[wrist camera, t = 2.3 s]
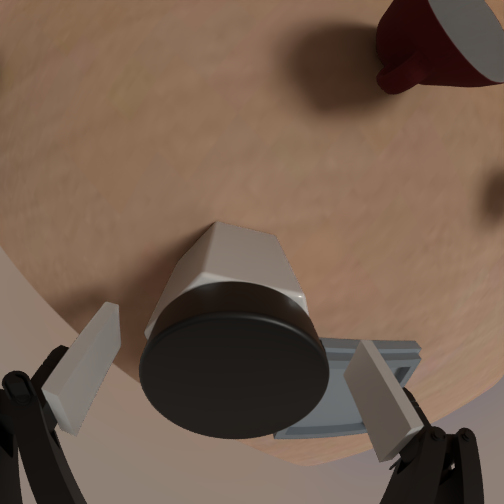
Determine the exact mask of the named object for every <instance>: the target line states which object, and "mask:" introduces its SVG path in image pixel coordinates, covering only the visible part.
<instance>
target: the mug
mask: <svg viewBox="0 0 504 504" xmlns="http://www.w3.org/2000/svg"><path fill="white" fill-rule="evenodd" d="M376 50H377V54H378V57H379V59H380V60H381V62H382V63H383V65H384V66H385V67H384V68H383V69H382V70H381V71H380V72H379V73H378V75H377V77H376V81H377V83H378V85H379V86H380V88H381V89H382V90H384V91H385V92H386V93H388V94H393V95H394V94H399V93H402V92H404V91H406V90H408V89H410V88H412V87H413V86H415V85H417V84H422V85H437V86H455V87H483V86H490V85H497V84H502V83H504V31H503V29H502V27H501V25H500V23H499V21H498V19H497V18H496V16H495V15H494V13H493V12H492V10H491V9H490V7H489V6H488V5H487V3H486V2H485V1H484V0H393V2H392V3H391V5H390V6H389V8H388V9H387V11H386V12H385V14H384V15H383V17H382V18H381V20H380V22H379V24H378V27H377V32H376Z"/></svg>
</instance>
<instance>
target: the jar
mask: <svg viewBox="0 0 504 504" xmlns="http://www.w3.org/2000/svg"><path fill="white" fill-rule="evenodd" d="M144 334H145V337H146V338H147V340H148V341H147V343H146V346H145V348H144V351H143V353H142V356H141V359H140V365H139V377H140V383H141V386H142V389H143V391H144V393H145V395H146V397H147V398H148V400H149V401H150V403H151V404H152V405H153V406H154V408H155V409H156V410H157V411H159V413H161V414H162V415H163V416H164V417H165V418H167V419H168V420H170V421H171V422H173V423H174V424H176V425H178V426H180V427H182V428H184V429H187V430H189V431H192V432H194V433H198V434H201V435H205V436H209V437H215V438H223V439H248V438H256V437H261V436H266V435H269V434H273V433H276V432H279V431H281V430H284V429H286V428H288V427H290V426H292V425H294V424H296V423H297V422H299V421H300V420H302V419H303V418H304V417H306V416H307V415H308V414H309V413H310V412H311V411H312V410H313V409H314V408H315V407H316V406H317V405H318V404H319V402H320V401H321V399H322V398H323V396H324V394H325V392H326V389H327V386H328V383H329V376H330V370H329V362H328V359H327V356H326V350H325V348H324V346H323V345H322V341H321V339H319V337H318V335H317V332H316V330H315V328H314V326H313V323H312V321H311V319H310V318H309V313H308V308H307V303H306V298H305V294H304V292H303V290H302V288H301V286H300V284H299V282H298V280H297V278H296V275H295V273H294V271H293V269H292V267H291V265H290V263H289V261H288V259H287V257H286V255H285V253H284V251H283V249H282V247H281V245H280V243H279V241H278V239H277V237H276V236H275V235H272V234H268V233H264V232H260V231H256V230H252V229H247V228H243V227H239V226H235V225H231V224H227V223H222V222H215V223H214V224H213V225H212V226H211V227H210V228H209V229H208V230H207V231H206V232H205V233H204V234H203V235H202V236H201V237H200V238H199V240H198V241H197V242H196V243H195V244H194V245H193V246H192V247H191V248H190V249H189V250H188V251H187V252H186V253H185V255H184V256H183V257H182V258H181V259H180V260H179V261H178V262H177V264H176V266H175V268H174V270H173V272H172V274H171V276H170V278H169V280H168V282H167V284H166V286H165V288H164V290H163V292H162V294H161V297H160V299H159V301H158V303H157V305H156V307H155V309H154V311H153V313H152V316H151V318H150V320H149V322H148V324H147V327H146V329H145V331H144Z"/></svg>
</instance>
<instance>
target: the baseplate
mask: <svg viewBox="0 0 504 504" xmlns="http://www.w3.org/2000/svg"><path fill="white" fill-rule="evenodd" d="M319 339H321V341H322V345H323V346H324V348H325V350H326V356H327V359H328V362H329V370H330V376H329V383H328V386H327V389H326V392H325V394H324V396H323V398H322V399H321V401H320V402H319V404H318V405H317V406H316V407H315V408H314V409H313V410H312V411H311V412H310V413H309V414H308V415H307V416H306V417H304V418H303V419H302V420H300V421H299V422H297V423H296V424H294V425H292V426H290V427H288V428H286V429H284V430H281V431H279V432H276V433H273V436H274V439H308V438H324V437H336V436H346V435H354V434H362V433H368V432H367V430H366V428H365V425H364V423H363V420H362V418H361V415H360V413H359V411H358V408H357V406H356V404H355V401H354V399H353V397H352V394H351V392H350V390H349V387H348V385H347V383H346V380H345V378H344V376H343V375H344V373H345V371H346V369H347V367H348V365H349V363H350V361H351V359H352V357H353V355H354V353H355V351H356V348H357V346H358V344H359V342H360V340H350V339H332V338H319ZM372 342H373V343H374V345H375V346H376V348H377V350H378V351H379V353H380V354H381V356H382V357H383V359H384V360H385V362H386V364H387V365H388V367H389V368H390V370H391V371H392V373H393V375H394V376H395V378H396V379H397V381H398V383H399V384H400V386H401V388H403V387H404V386H405V385H406V383H407V382H408V380H409V378H410V377H411V375H412V374H413V372H414V371H415V369H416V367H417V366H418V364H419V362H420V361H421V358H420V356H419V355H418V354H419V352H420V350H421V347H420V346H419V345H418V344H417V342H416V341H377V340H372Z"/></svg>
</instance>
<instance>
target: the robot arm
mask: <svg viewBox="0 0 504 504" xmlns="http://www.w3.org/2000/svg"><path fill="white" fill-rule="evenodd" d="M120 347H121V337H120V322H119V305H118V304H114V303H110V302H105V303H104V304H103V305H102V307H101V308H100V309H99V310H98V312H97V313H96V314H95V315H94V317H93V318H92V319H91V320H90V322H89V323H88V324H87V326H86V327H85V328H84V329H83V331H82V332H81V333H80V335H79V336H78V337H77V339H76V340H75V341H74V343H73V344H72V346H71V347H70V348H68V347H65V346H63V345H60V346H59V347H57V348H55V349H54V350H53V351H52V352H51V353H50V354H49V356H48V357H47V359H46V360H45V361H44V362H43V365H41V366H40V367H39V369H38V370H37V372H36V373H35V374H34V376H33V377H32V378H31V380H30V378H29V376H28V375H27V374H26V373H24V372H22V371H12V372H9V373H8V374H7V375H5V377H4V378H3V380H2V386H3V388H4V390H3V389H0V504H23V503H22V496H21V488H20V478H19V465H18V448H19V451H20V455H21V459H22V462H23V465H24V469H25V472H26V475H27V478H28V481H29V484H30V487H31V490H32V492H33V495H34V497H35V500H36V502H37V504H87V503H86V501H85V499H84V497H83V495H82V493H81V491H80V489H79V487H78V485H77V483H76V481H75V479H74V477H73V474H72V472H71V470H70V468H69V465H68V463H67V461H66V458H65V456H64V453H63V450H62V448H61V445H60V442H59V440H58V437H57V434H56V431H55V430H54V428H55V426H56V425H57V423H58V425H59V427H60V429H61V430H62V431H65V432H67V433H69V434H72V435H74V436H77V434H78V432H79V429H80V427H81V425H82V423H83V421H84V419H85V416H86V414H87V412H88V410H89V408H90V406H91V404H92V402H93V399H94V397H95V395H96V393H97V391H98V389H99V387H100V385H101V383H102V381H103V379H104V377H105V375H106V374H107V372H108V370H109V368H110V366H111V364H112V362H113V360H114V358H115V356H116V354H117V353H118V351H119V349H120ZM343 376H344V378H345V380H346V383H347V385H348V387H349V390H350V392H351V394H352V397H353V399H354V401H355V404H356V406H357V408H358V411H359V413H360V415H361V418H362V420H363V423H364V425H365V428H366V430H367V432H368V435H369V437H370V440H371V442H372V445H373V447H374V450H375V452H376V455H377V457H378V460H379V462H383V461H388V460H392V459H393V458H394V457H395V456H396V455H397V454H398V453H399V454H400V456H401V458H399V459H398V460H397V461H396V462H395V463H394V464H393V465H392V466H391V467H390V470H391V469H392V468H393V467H395V469H394V472H393V474H392V477H391V479H390V482H389V484H388V486H387V489H386V491H385V493H384V495H383V498H382V500H381V502H380V504H484V493H483V482H482V474H481V466H480V459H479V453H478V447H477V442H476V437H475V435H474V433H473V432H472V431H471V430H470V429H468V428H461V429H459V431H458V432H457V433H456V434H446V433H445V432H444V431H443V430H442V429H441V428H439V427H435V426H434V427H432V426H431V425H430V423H429V421H428V420H427V418H426V416H425V415H424V413H423V411H422V410H421V408H420V407H419V405H418V403H417V402H416V400H415V398H414V397H413V395H412V393H411V392H409V391H408V390H407V389H406V388H405V387H403V388H401V386H400V384H399V383H398V381H397V379H396V378H395V376H394V375H393V373H392V371H391V370H390V368H389V367H388V365H387V364H386V362H385V360H384V359H383V357H382V356H381V354H380V353H379V351H378V350H377V348H376V346H375V345H374V343H373V342H372V340H360V342H359V344H358V346H357V348H356V351H355V353H354V355H353V357H352V359H351V361H350V363H349V365H348V367H347V369H346V371H345V373H344V375H343ZM453 464H455V468H454V469H451V465H453Z"/></svg>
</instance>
